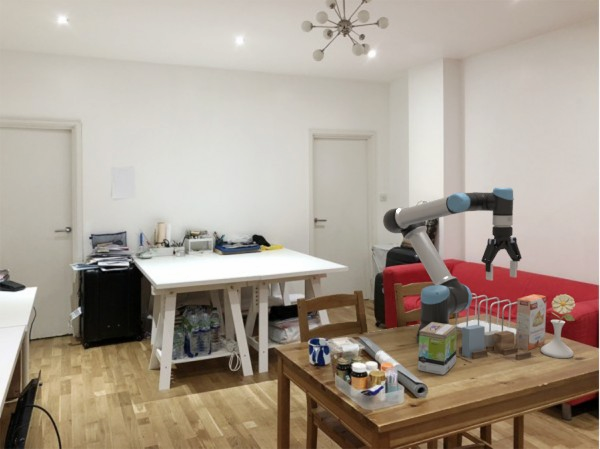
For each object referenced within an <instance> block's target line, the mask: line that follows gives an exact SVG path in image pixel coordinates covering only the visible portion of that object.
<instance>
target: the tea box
mask: <svg viewBox="0 0 600 449" xmlns="http://www.w3.org/2000/svg"><path fill="white" fill-rule="evenodd" d="M457 331H458V330H457V326H456V324H450V323H449V324H442V323H436V322H431V323H430V324H428V325H427V326H426V327H424V328H423V329H421V330H420V331H419V343H418V360H417V361H418V362H417V364H418V365H417V370H418V371H421V372H425V373H430V374H436V375H442V376H444V375H445V374H446V373H448V371H449V370H450V369H452V367H453V366H454V365H455V364H456V362H457V357H456V356H457V335H458V334H457V333H458V332H457Z"/></svg>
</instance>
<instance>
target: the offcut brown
mask: <svg viewBox="0 0 600 449" xmlns="http://www.w3.org/2000/svg"><path fill="white" fill-rule="evenodd" d="M513 347H515V337H514V333H513V332H510V331H502V332H497V333H494V352H496V353H499V354H503V350H504V349H508V348H513Z"/></svg>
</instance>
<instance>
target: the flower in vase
mask: <svg viewBox="0 0 600 449" xmlns="http://www.w3.org/2000/svg"><path fill="white" fill-rule="evenodd" d="M575 306H576V304H575V299H574V298H573V296H571V295H568V294H567V293H565V294H559V295H556V296H555V297H554V298H553V300H552V301H551V307H552V310H553V311H554V312H555V313H554V312H552V310H551V311H550V312H551V313H552V314H553V315H554V316H556V317H557V318H559V319H551V320H550V322H551V324H552V326H553V331H554V335H553V339H552V340H551V341H549V342H548V343H546V344H544V346H543V345H542V347H541V349H540V352H541V353H542V354H543V355H545V356H547V357H550V358H554V359H555V358H556V359H570V358H573V357H574V351H573V350H572V349H571V348H570V347H569V346H568V345H567V344H566V343H564V342H563V341H562V338H561V337H562V335H561V334H562V328H563V327H564V325H565V323H566V321H567V322H572V321H573V322H574V321H576V320H575V318H574V317H573V315H572V314H569V313H571V312H572V310H574V309H575ZM556 313H558V314H560V315H562V317H560V316H559V315H557V314H556ZM562 319H565V321H564V320H562Z"/></svg>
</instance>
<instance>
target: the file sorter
mask: <svg viewBox="0 0 600 449" xmlns="http://www.w3.org/2000/svg"><path fill="white" fill-rule="evenodd" d="M471 294H472V300H475V306H474V307H475V309H474V312H475V314H474V319H471V320H469V310H470V306H469V307H468V308H467V309H466V321H464V322H461V323H458V312H457V313H455V325H456V326H457V331H460V332H462V327H467V326H472V325H481V326H484V327H485V332H490V331H495V330H498V331H501V332H502V331H510V332H513V333H514V338H516V328H515V327H514V328H513V327H511V316H512V315H511V312H512V306H513V305H516V304H517V301H515V302H511V300H510V299H503V300H500V298H499V297H497V296H494V297H489V298H488V296H487V295H485V294H482V295H479V296H477V295H478V294H476V293H473V292H471ZM473 295H474V296H473ZM483 297H484V298H485V299H482V300H480V302H478V299H479V298H483ZM495 299H496V300H497V301H494V302H492V303H491V304H490V307H488V304H489V302H488V301H492V300H495ZM483 302H485V320H480V317H481V316H480V315H481V314H480V313H481V312H480V311H481V305H482V303H483ZM505 302H508V303H509V304H505V305H504V306H503V307H502V311H501V312H502V313H501V314H502V315H501V324H499V321H500V320H499V319H500V318H499V317H500V303H505ZM496 304H497V313H496V314H497V315H496V323H494V322H492V308H493V306H494V305H496ZM477 307H478V308H477ZM507 307H508V308H509V309H508V326H505V325H504V322H505V321H504V318H505V317H504V316H505V314H504V313H505V309H506V308H507ZM488 308H489V322H488ZM477 309H478V310H477Z"/></svg>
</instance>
